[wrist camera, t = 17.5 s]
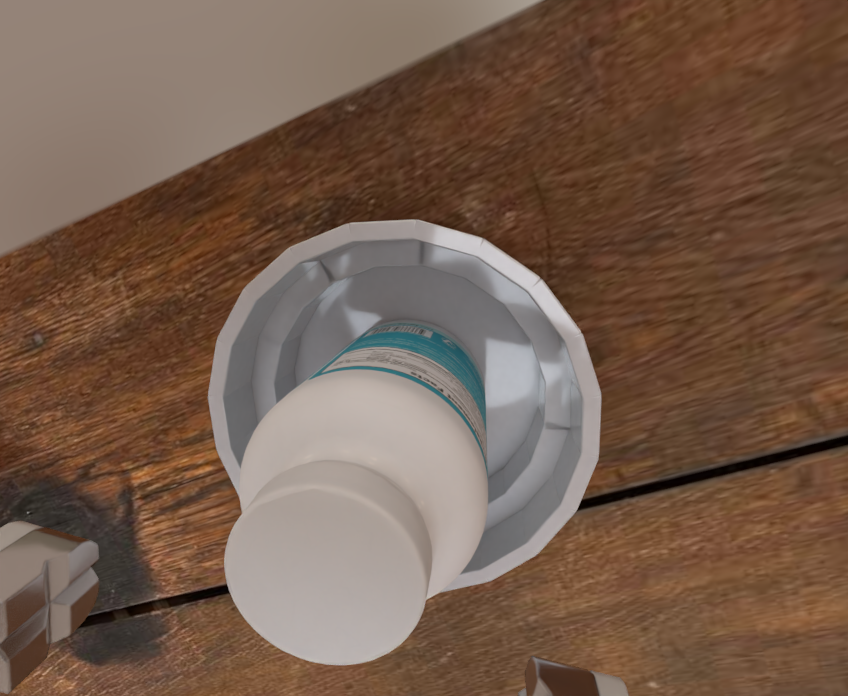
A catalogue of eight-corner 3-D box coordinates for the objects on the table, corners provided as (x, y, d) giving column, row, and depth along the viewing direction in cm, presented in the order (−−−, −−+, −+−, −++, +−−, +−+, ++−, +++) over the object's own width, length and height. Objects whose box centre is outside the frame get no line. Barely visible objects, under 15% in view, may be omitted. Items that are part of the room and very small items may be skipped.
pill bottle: (393, 480, 25) (289, 755, 12) (312, 365, 24) (99, 525, 11) (516, 412, 23) (555, 646, 10) (433, 286, 22) (356, 360, 9)
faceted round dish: (220, 290, 24) (145, 306, 19) (515, 171, 21) (525, 149, 16) (337, 547, 27) (300, 624, 22) (612, 477, 24) (649, 547, 18)
